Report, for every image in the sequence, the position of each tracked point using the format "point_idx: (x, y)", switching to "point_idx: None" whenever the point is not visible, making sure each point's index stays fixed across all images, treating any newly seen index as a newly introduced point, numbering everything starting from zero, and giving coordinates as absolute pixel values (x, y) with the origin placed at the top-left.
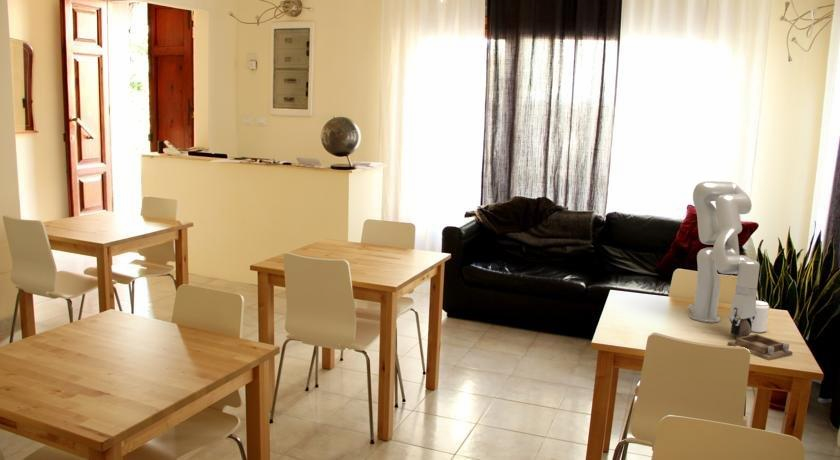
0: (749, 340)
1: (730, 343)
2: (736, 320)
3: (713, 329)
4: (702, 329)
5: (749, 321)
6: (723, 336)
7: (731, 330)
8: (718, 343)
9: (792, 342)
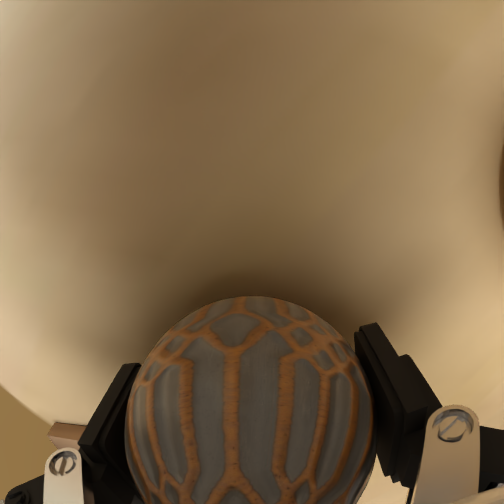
0: None
1: (59, 447)
2: (150, 495)
3: (142, 43)
4: (39, 54)
5: (410, 484)
6: (98, 284)
7: (115, 387)
8: (16, 385)
9: (500, 429)
